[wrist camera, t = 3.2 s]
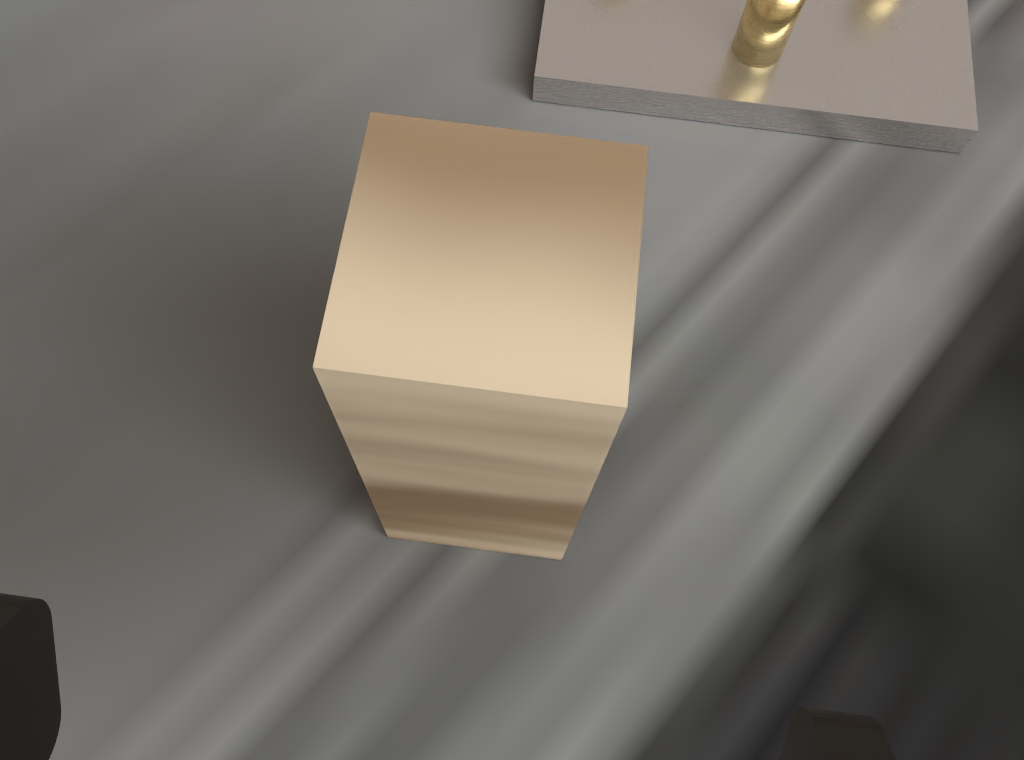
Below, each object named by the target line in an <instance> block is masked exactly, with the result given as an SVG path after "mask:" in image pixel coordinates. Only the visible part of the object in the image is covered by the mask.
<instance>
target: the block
mask: <svg viewBox="0 0 1024 760" xmlns="http://www.w3.org/2000/svg"><path fill="white" fill-rule="evenodd" d="M648 148H649V146H643V145H635V144H627V143H619V142H611V141H602V140H594V139H586V138H578V137H570V136H562V135H554V134H546V133H538V132H529V131H521V130H513V129H505V128H497V127H489V126H481V125H473V124H465V123H456V122H448V121H440V120H432V119H424V118H416V117H408V116H400V115H391V114H383V113H375V112H370V116H369V121H368V125H367V129H366V134H365V138H364V143H363V147H362V151H361V156H360V160H359V165H358V169H357V173H356V178H355V182H354V187H353V191H352V196H351V200H350V204H349V209H348V213H347V218H346V222H345V226H344V231H343V235H342V240H341V244H340V248H339V253H338V257H337V262H336V266H335V271H334V275H333V279H332V284H331V288H330V293H329V297H328V301H327V306H326V310H325V315H324V319H323V323H322V328H321V332H320V337H319V341H318V346H317V350H316V354H315V359H314V363H313V369H314V372H315V374H316V376H317V379H318V381H319V383H320V385H321V388H322V390H323V392H324V394H325V397H326V399H327V401H328V403H329V406H330V408H331V410H332V412H333V415H334V417H335V419H336V421H337V424H338V426H339V428H340V430H341V433H342V435H343V437H344V439H345V442H346V444H347V446H348V449H349V451H350V453H351V455H352V458H353V460H354V462H355V464H356V467H357V469H358V471H359V473H360V476H361V478H362V480H363V482H364V485H365V487H366V489H367V491H368V494H369V496H370V498H371V500H372V503H373V505H374V507H375V509H376V512H377V514H378V516H379V519H380V521H381V523H382V525H383V528H384V530H385V532H386V534H387V537H390V538H398V539H405V540H413V541H420V542H428V543H436V544H443V545H451V546H458V547H466V548H474V549H481V550H489V551H497V552H504V553H512V554H519V555H527V556H535V557H542V558H550V559H557V560H562V558H563V556H564V553H565V551H566V549H567V546H568V544H569V542H570V539H571V537H572V535H573V532H574V530H575V528H576V525H577V523H578V521H579V518H580V516H581V514H582V511H583V509H584V507H585V504H586V502H587V500H588V498H589V495H590V493H591V491H592V488H593V486H594V484H595V481H596V479H597V477H598V474H599V472H600V470H601V467H602V465H603V463H604V460H605V458H606V456H607V453H608V451H609V449H610V446H611V444H612V442H613V439H614V437H615V435H616V433H617V430H618V428H619V426H620V423H621V421H622V419H623V416H624V414H625V412H626V409H627V404H628V392H629V380H630V367H631V355H632V343H633V331H634V319H635V307H636V294H637V282H638V270H639V258H640V246H641V234H642V221H643V209H644V197H645V185H646V173H647V161H648Z"/></svg>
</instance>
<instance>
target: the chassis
mask: <svg viewBox="0 0 1024 760" xmlns="http://www.w3.org/2000/svg"><path fill="white" fill-rule="evenodd" d="M532 100H533V101H541V102H549V103H557V104H565V105H573V106H581V107H589V108H598V109H606V110H614V111H622V112H630V113H638V114H646V115H654V116H662V117H670V118H679V119H687V120H695V121H703V122H711V123H719V124H727V125H735V126H743V127H751V128H760V129H768V130H776V131H784V132H792V133H800V134H808V135H816V136H824V137H832V138H841V139H849V140H857V141H865V142H873V143H881V144H889V145H897V146H905V147H913V148H922V149H930V150H938V151H946V152H954V153H960V152H961V151H962V150H963V149H964V148H965V146H966V145H967V144H968V143H969V141H970V140H971V139H972V138H973V136H974V135H975V134H976V133H977V131H978V123H977V111H976V99H975V88H974V76H973V64H972V53H971V41H970V29H969V17H968V6H967V0H545V5H544V12H543V19H542V26H541V33H540V40H539V47H538V54H537V61H536V67H535V74H534V85H533V98H532Z"/></svg>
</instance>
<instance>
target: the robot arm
mask: <svg viewBox="0 0 1024 760" xmlns="http://www.w3.org/2000/svg"><path fill="white" fill-rule="evenodd" d="M60 720H61V703H60V693H59V684H58V674H57V664H56V654H55V645H54V635H53V625H52V616H51V611H50V608H49V606H48V605H47V603H46V602H45V601H44V600H42V599H37V598H30V597H23V596H16V595H9V594H1V593H0V760H49V758H50V756H51V753H52V751H53V748H54V745H55V742H56V739H57V736H58V731H59V727H60ZM779 760H895V758H894V755H893V753H892V750H891V748H890V746H889V743H888V741H887V739H886V736H885V734H884V731H883V729H882V727H881V725H880V724H879V722H878V721H877V720H876V719H875V718H873V717H870V716H863V715H856V714H849V713H841V712H834V711H827V710H820V709H813V708H805V707H800V708H799V709H797V711H796V712H795V713H794V715H793V717H792V720H791V723H790V726H789V729H788V732H787V736H786V739H785V742H784V746H783V749H782V752H781V755H780V759H779Z"/></svg>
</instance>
